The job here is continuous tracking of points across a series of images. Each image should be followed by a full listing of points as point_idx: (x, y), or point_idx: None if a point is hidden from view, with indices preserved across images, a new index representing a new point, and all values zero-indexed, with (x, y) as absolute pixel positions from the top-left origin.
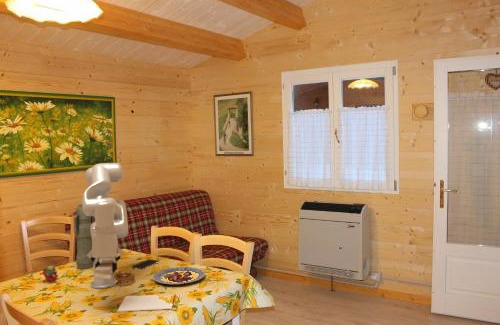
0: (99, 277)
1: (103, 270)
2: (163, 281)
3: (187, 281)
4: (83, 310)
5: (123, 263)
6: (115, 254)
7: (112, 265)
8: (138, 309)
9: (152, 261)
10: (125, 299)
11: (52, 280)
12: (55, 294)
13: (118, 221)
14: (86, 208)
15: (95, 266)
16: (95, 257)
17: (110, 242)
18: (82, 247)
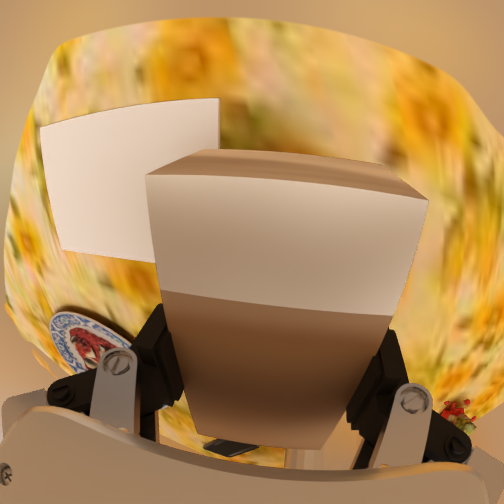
0: (331, 159)
1: (266, 175)
2: (123, 345)
3: (64, 319)
4: (395, 159)
5: (284, 457)
6: (15, 426)
7: (168, 332)
8: (129, 111)
9: (215, 449)
10: None
11: (452, 405)
12: (469, 338)
13: None
14: None
15: (399, 361)
16: (441, 468)
17: None
18: None
